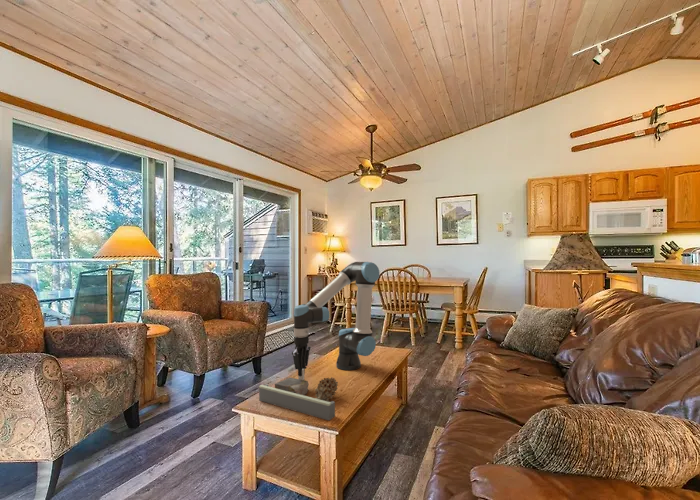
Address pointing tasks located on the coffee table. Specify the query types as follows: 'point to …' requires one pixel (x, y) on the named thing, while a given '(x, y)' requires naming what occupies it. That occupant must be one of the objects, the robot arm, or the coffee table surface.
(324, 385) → the pine cone
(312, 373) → the coffee table surface
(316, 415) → the end rail
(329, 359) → the coffee table surface
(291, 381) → the geological specimen
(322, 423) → the coffee table surface
